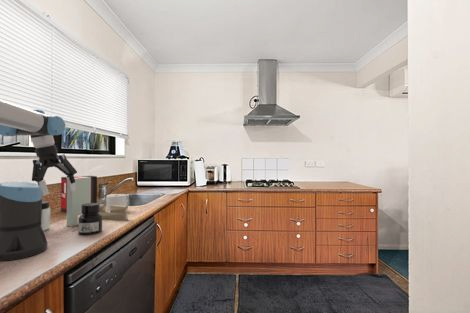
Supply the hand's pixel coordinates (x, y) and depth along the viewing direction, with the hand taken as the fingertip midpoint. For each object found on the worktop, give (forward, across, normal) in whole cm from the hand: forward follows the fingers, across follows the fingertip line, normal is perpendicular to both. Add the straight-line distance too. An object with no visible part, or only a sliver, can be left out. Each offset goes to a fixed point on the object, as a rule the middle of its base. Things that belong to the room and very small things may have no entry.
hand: (59, 192), depth 113 cm
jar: (+14, +11, +5) cm, 19 cm away
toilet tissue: (+24, -1, -32) cm, 39 cm away
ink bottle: (+18, -14, +6) cm, 24 cm away
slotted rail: (+21, -6, -17) cm, 28 cm away
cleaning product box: (+20, +24, -36) cm, 48 cm away
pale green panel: (+18, +2, -7) cm, 19 cm away
